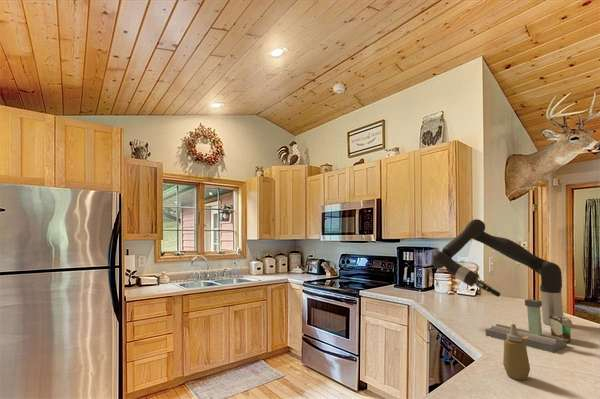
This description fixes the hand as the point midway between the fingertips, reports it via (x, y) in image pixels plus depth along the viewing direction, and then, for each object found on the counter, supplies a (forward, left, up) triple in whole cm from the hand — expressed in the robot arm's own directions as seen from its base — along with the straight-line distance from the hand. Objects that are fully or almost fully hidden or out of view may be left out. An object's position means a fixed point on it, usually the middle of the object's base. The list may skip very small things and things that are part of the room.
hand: (499, 295), depth 170 cm
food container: (-12, +22, -19) cm, 31 cm away
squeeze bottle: (+48, +29, -19) cm, 59 cm away
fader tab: (+4, +17, -15) cm, 23 cm away
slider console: (+4, +12, -18) cm, 22 cm away
